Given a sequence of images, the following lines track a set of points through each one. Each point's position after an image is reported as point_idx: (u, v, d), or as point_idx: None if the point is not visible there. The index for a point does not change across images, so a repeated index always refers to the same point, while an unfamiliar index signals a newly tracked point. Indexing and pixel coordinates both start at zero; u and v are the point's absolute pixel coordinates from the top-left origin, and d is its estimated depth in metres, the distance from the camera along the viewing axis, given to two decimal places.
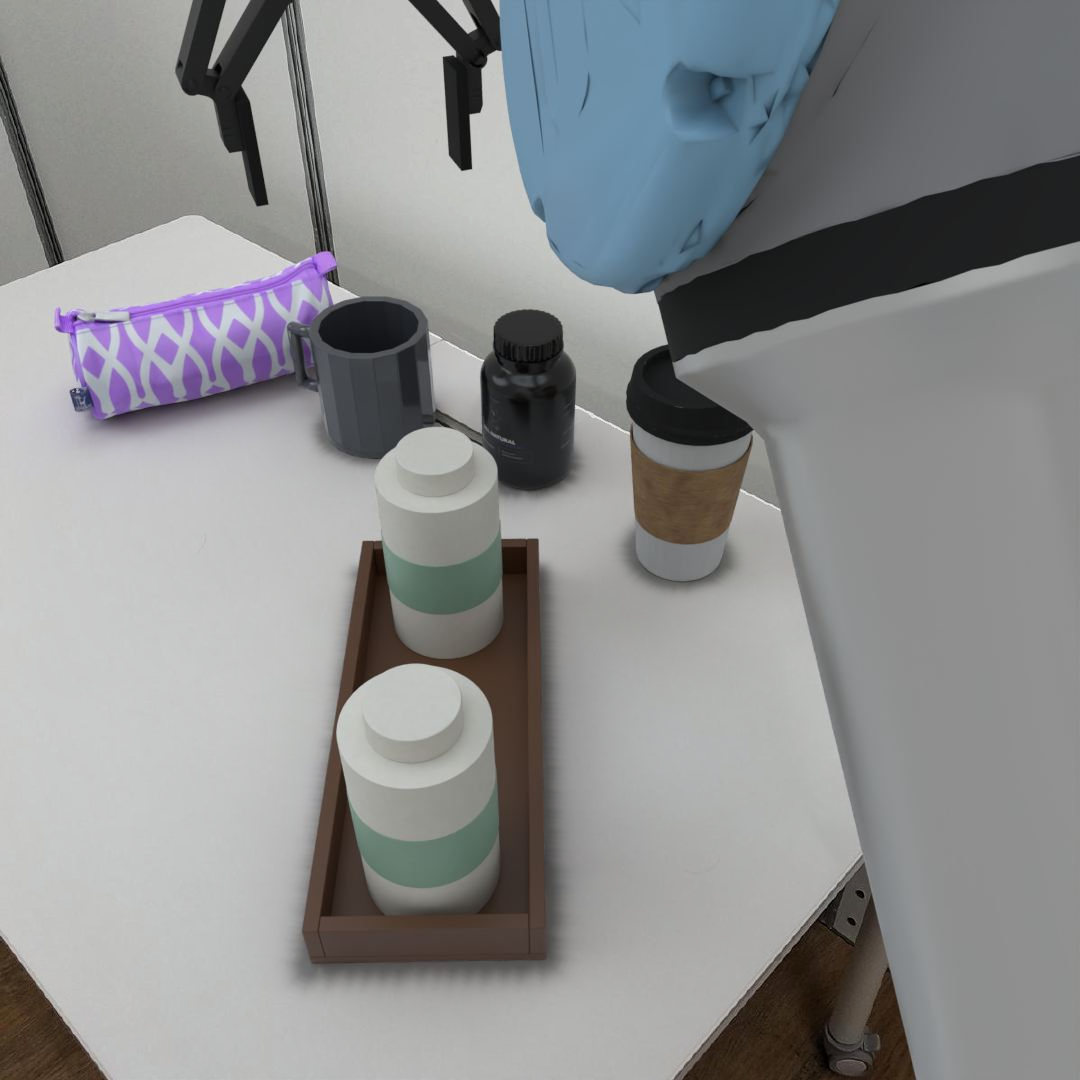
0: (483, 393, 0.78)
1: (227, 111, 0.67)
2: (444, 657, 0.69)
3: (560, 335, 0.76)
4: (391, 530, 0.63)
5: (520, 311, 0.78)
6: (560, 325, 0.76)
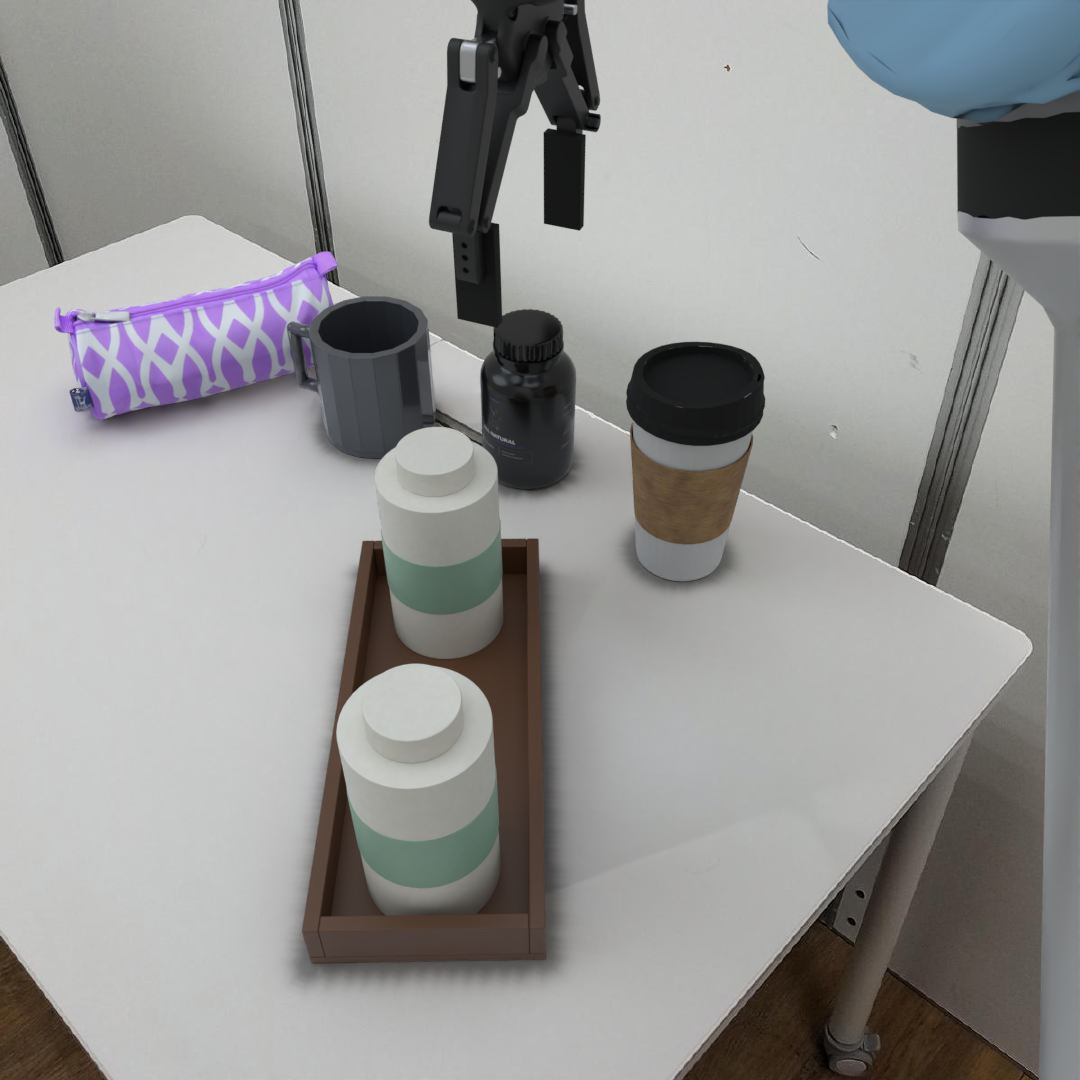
0: (483, 393, 0.78)
1: (479, 242, 0.64)
2: (444, 657, 0.69)
3: (560, 335, 0.76)
4: (391, 530, 0.63)
5: (520, 311, 0.78)
6: (560, 325, 0.76)
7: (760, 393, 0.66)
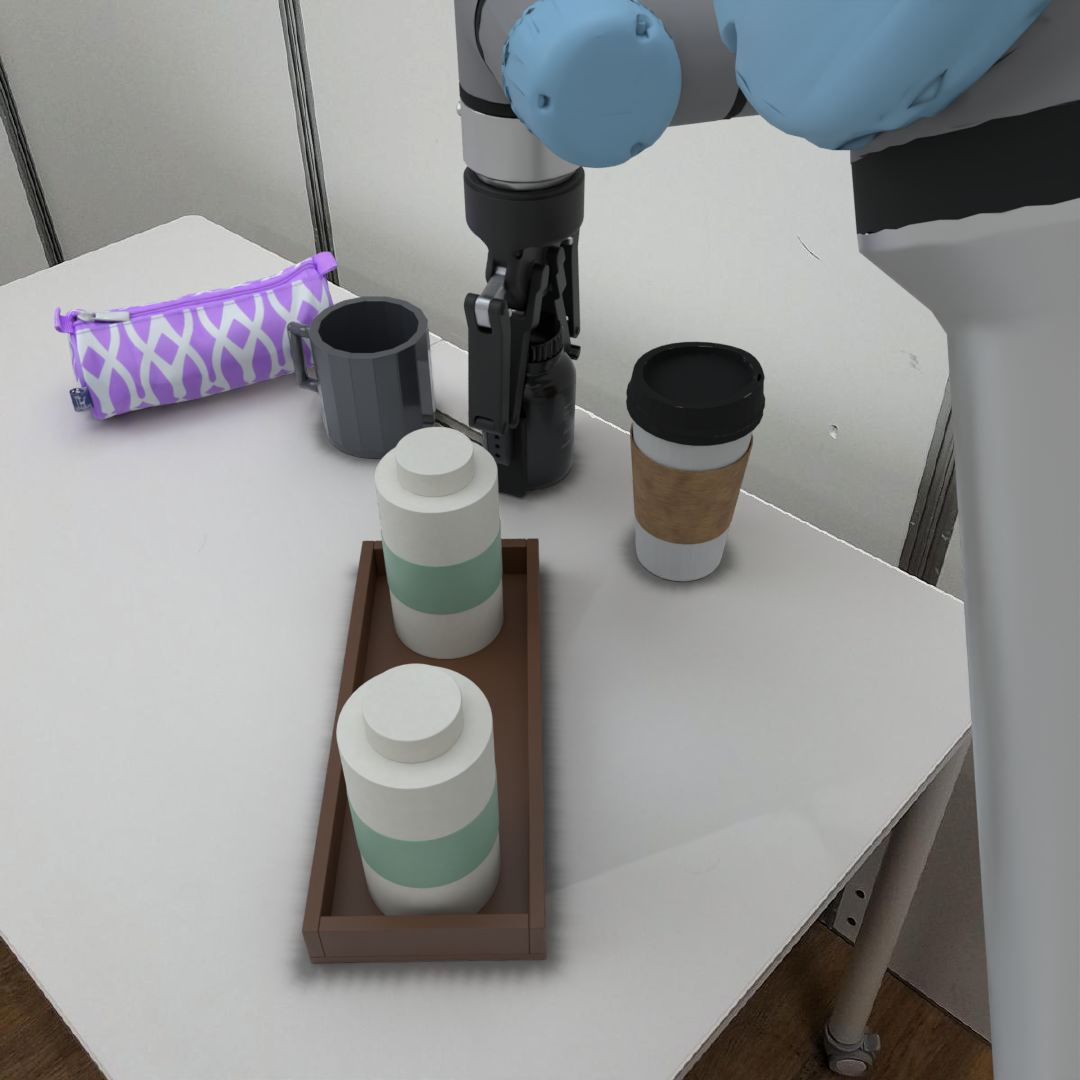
0: None
1: (509, 434, 0.77)
2: (444, 657, 0.69)
3: (560, 335, 0.76)
4: (391, 530, 0.63)
5: (520, 311, 0.78)
6: (560, 325, 0.76)
7: (760, 393, 0.66)
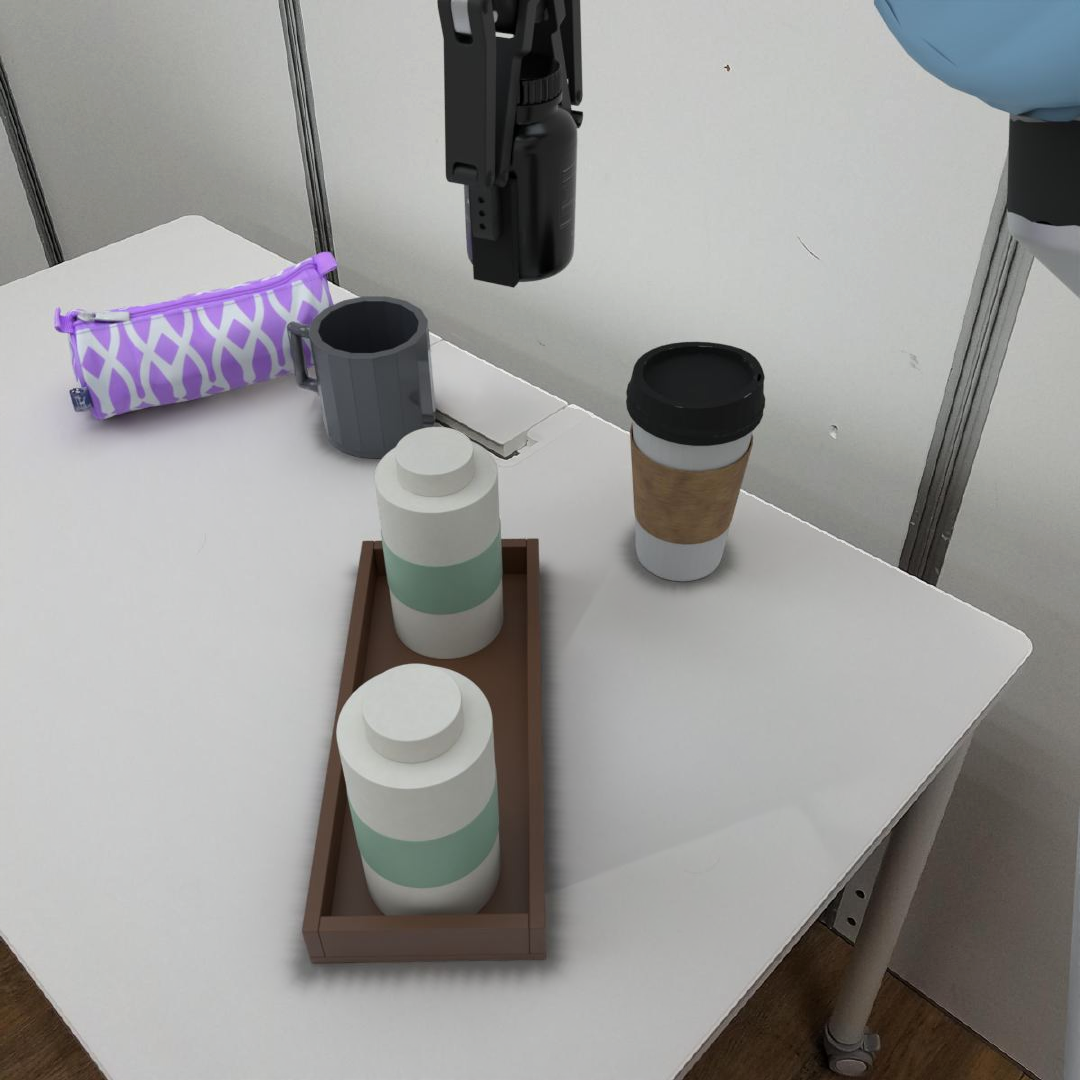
0: None
1: (496, 196, 0.63)
2: (444, 657, 0.69)
3: (558, 74, 0.62)
4: (391, 530, 0.63)
5: None
6: (558, 64, 0.63)
7: (760, 393, 0.66)
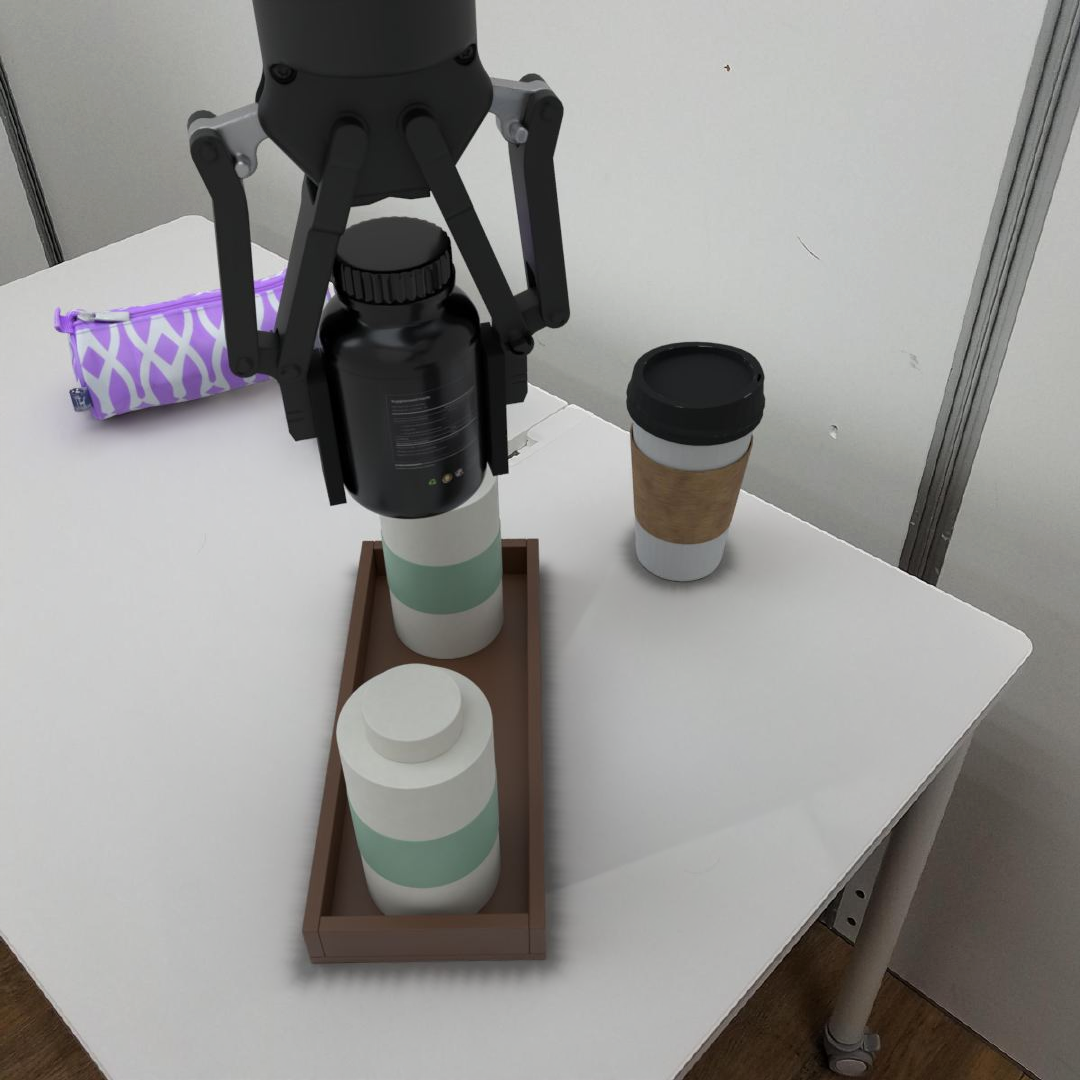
0: None
1: (295, 391, 0.46)
2: (444, 657, 0.69)
3: (407, 276, 0.43)
4: (391, 530, 0.63)
5: (423, 223, 0.45)
6: (427, 263, 0.43)
7: (760, 393, 0.66)
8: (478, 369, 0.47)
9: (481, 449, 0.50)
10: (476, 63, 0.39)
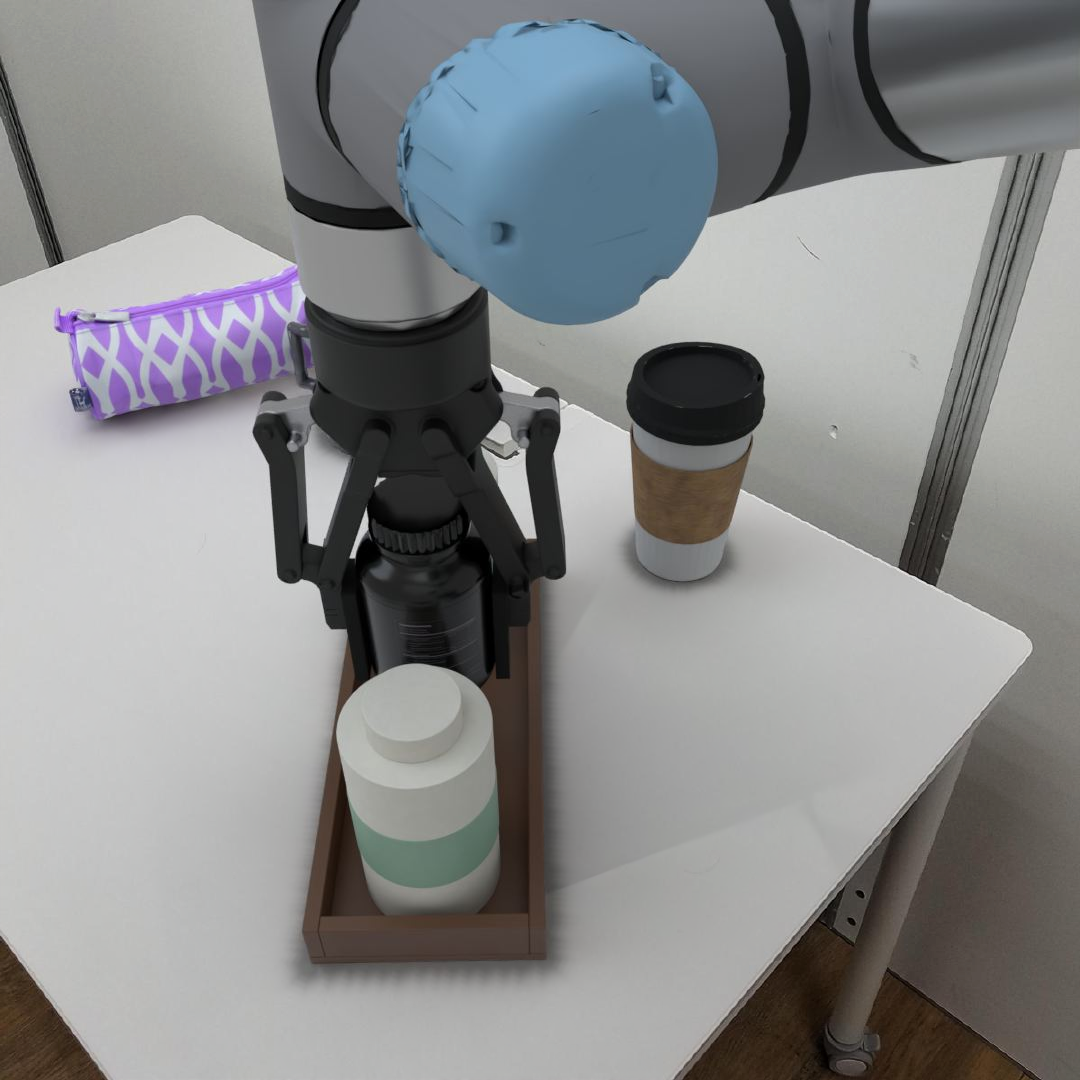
0: None
1: (332, 595, 0.56)
2: None
3: (418, 536, 0.51)
4: None
5: None
6: (436, 527, 0.52)
7: (760, 393, 0.66)
8: (481, 603, 0.55)
9: (484, 660, 0.58)
10: (486, 390, 0.48)
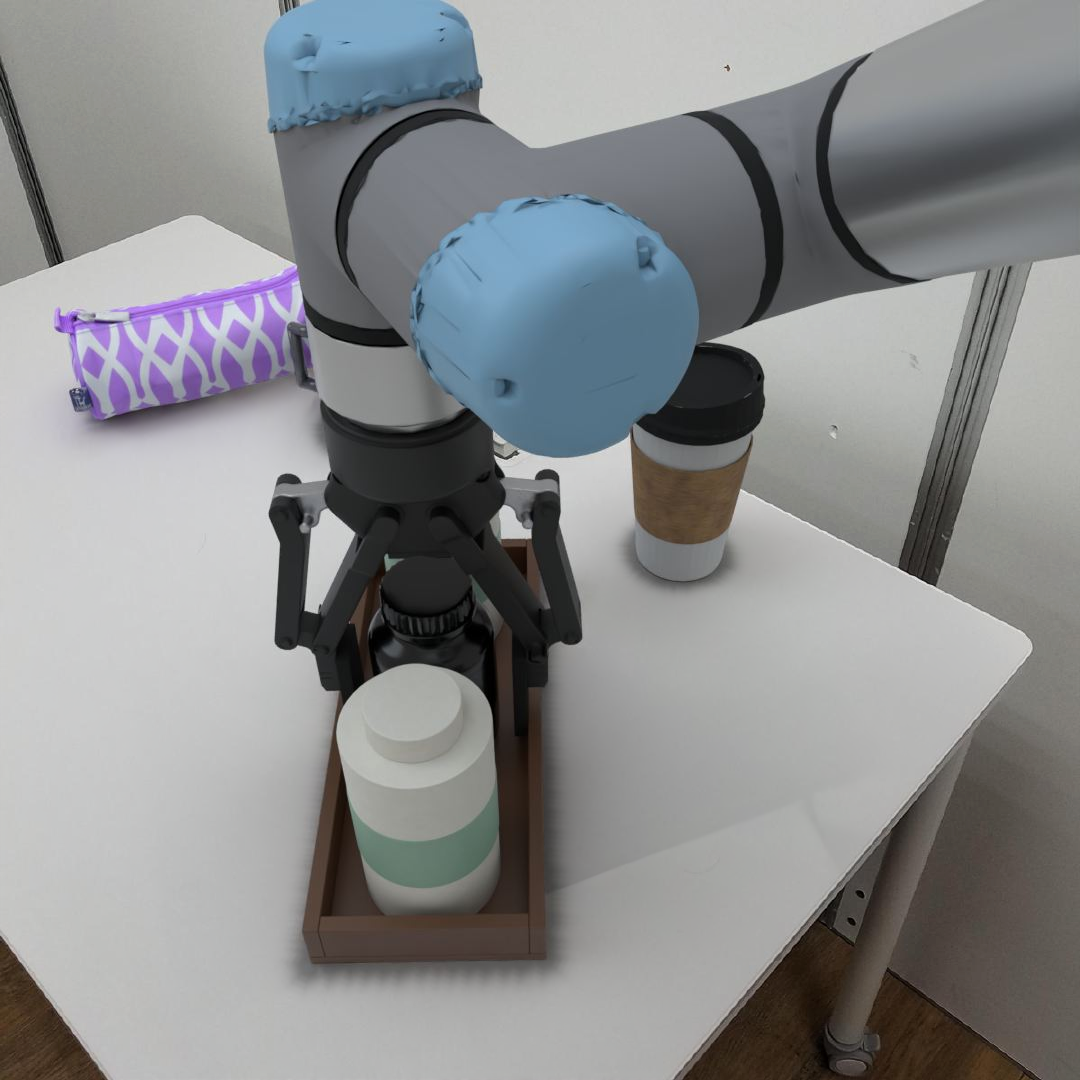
0: None
1: (326, 659, 0.59)
2: None
3: (427, 621, 0.55)
4: None
5: (458, 566, 0.58)
6: (445, 612, 0.55)
7: (760, 393, 0.66)
8: (486, 678, 0.59)
9: None
10: (490, 481, 0.51)
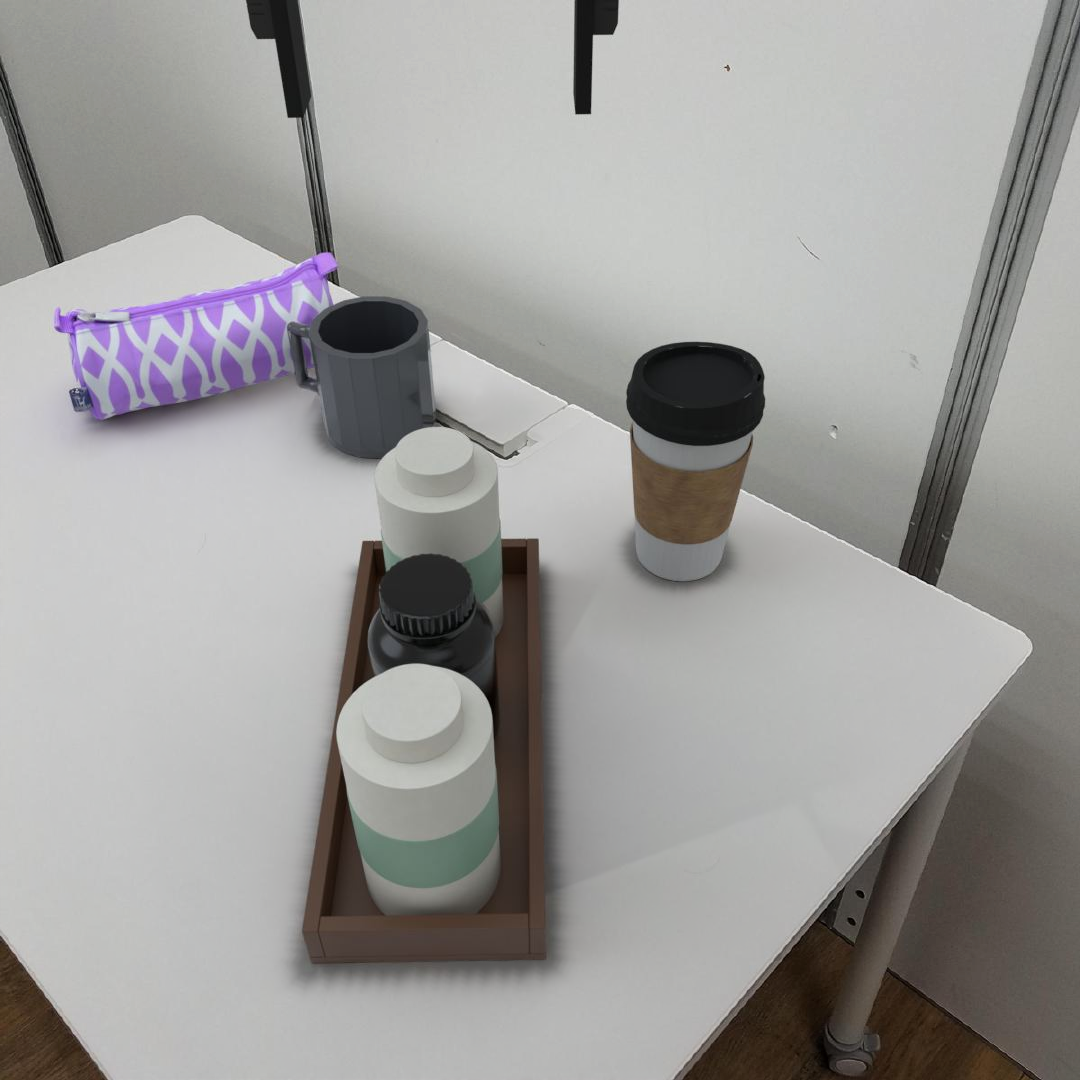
0: None
1: None
2: None
3: (427, 621, 0.55)
4: (391, 530, 0.63)
5: (457, 566, 0.58)
6: (444, 612, 0.55)
7: (760, 393, 0.66)
8: (486, 678, 0.59)
9: None
10: None
